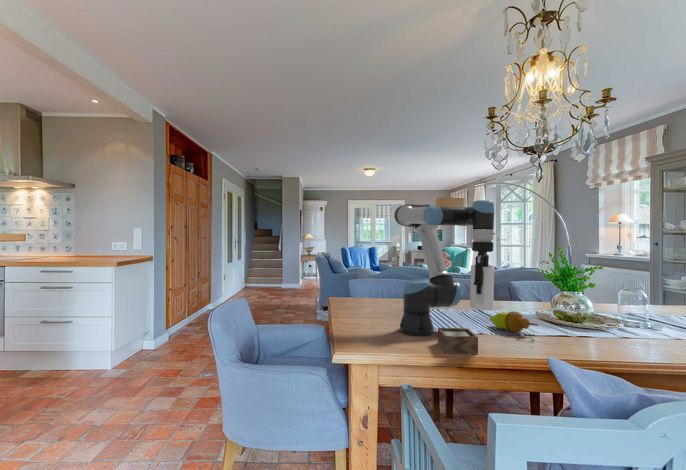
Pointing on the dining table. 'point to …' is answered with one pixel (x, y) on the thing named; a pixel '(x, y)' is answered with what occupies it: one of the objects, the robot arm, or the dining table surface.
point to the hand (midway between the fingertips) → (481, 300)
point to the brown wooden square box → (457, 340)
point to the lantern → (511, 321)
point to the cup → (488, 289)
